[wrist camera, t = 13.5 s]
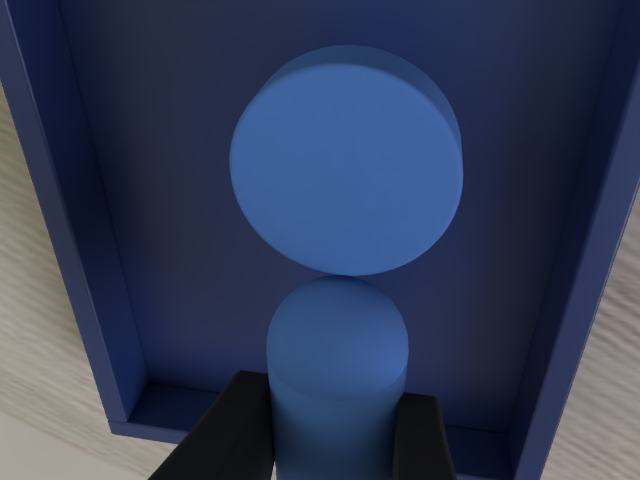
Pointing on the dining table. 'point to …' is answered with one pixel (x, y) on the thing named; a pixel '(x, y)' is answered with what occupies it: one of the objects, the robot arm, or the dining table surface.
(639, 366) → the dining table surface
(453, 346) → the blue tray
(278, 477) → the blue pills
